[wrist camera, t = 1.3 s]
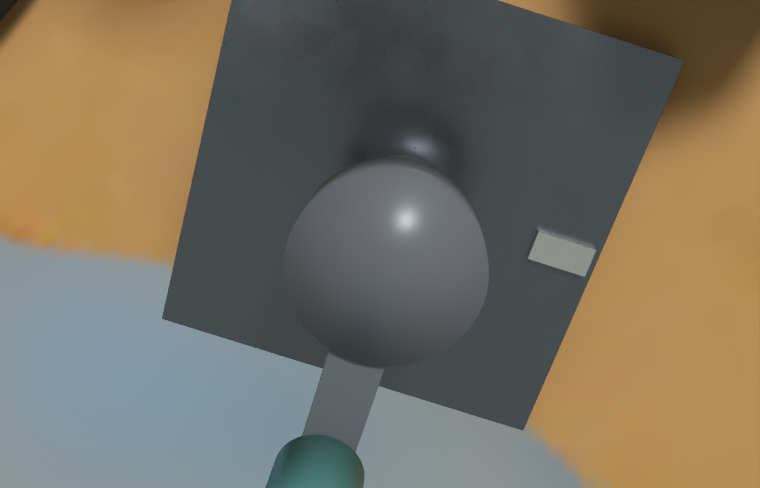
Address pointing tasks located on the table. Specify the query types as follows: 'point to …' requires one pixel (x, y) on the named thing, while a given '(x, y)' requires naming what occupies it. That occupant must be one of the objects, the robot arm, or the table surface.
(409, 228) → the crank handle
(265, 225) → the post base
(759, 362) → the table surface
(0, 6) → the media streaming box
